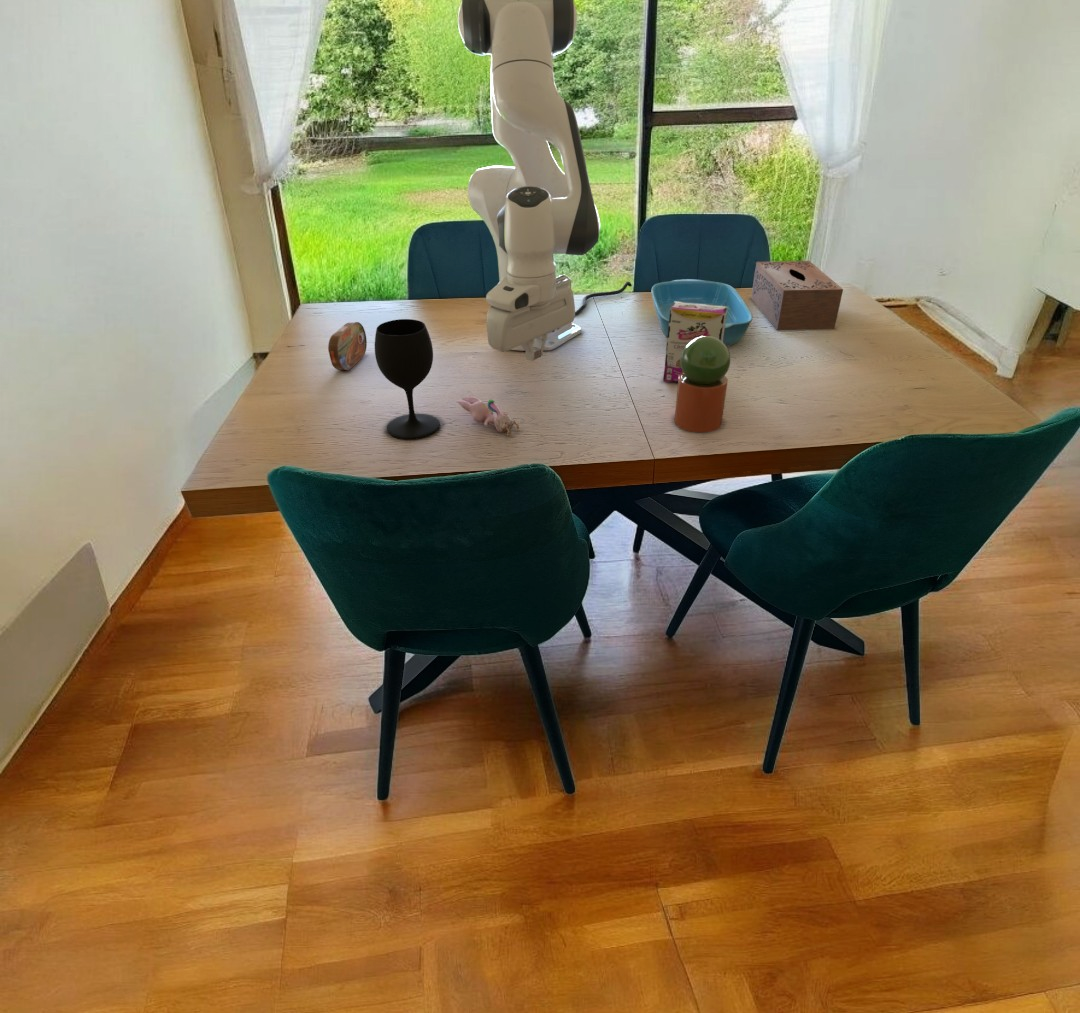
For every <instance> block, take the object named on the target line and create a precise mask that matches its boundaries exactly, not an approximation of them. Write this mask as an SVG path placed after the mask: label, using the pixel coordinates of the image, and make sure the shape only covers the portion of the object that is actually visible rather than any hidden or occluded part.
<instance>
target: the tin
mask: <svg viewBox="0 0 1080 1013" xmlns="http://www.w3.org/2000/svg"><path fill="white" fill-rule="evenodd" d="M367 343H368V342H367V334H366V330H365V327H364V326H363V324H362V323H360V322H359V321H355V322H354V321H353V322H346V323H345V324H344V325H342V326H341V327H340V328H339V329H337V330H336V331H335V332H334V333H333V334H332V335H331V336H330V338H329V340H328V345H327V350H328V354H329V359H330V362H331V365H332V367H333V368H334V369H335V370H338V371H350V370H351V369H352V368H353V367H355V365H356V364H358V362H360V361H361V360H362V358H363V357H364V356H365V355H366V352H367Z"/></svg>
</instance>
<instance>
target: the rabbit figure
mask: <svg viewBox="0 0 1080 1013" xmlns="http://www.w3.org/2000/svg"><path fill="white" fill-rule="evenodd" d="M455 402H456V403H457V404H458V405H460V406H461V407H462V408H463V409H464V410H465V411H466V412H468V413H469V414H470V416H471V417H472V419H473V421H475V422H477V423H481V424H484V427H487V426H488V424H491V425H493V426H495V429H496V430H497V432H498V433H501V434H503V433H505V432H506V431H507V433H506V436H508V437H509V436H510V434H512V432H511V429H512V428H513V426H514V425H515V426H516V427H515V431H516V432H518V430H520V426H519V423H518V422H516V421H515V420H512V419H511V418H510V417H509V413H507V412H501V411H500V409H499V408H498V407H497V405H496V404H495V403H496V402H495V399H489V400H488V401H487V402H486V401H483V400H480V399H479V398H477V397H475V396H472V395H467V396H463V397H461V398H460V399H457V400H455ZM494 413H495V414H494Z"/></svg>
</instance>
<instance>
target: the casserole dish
mask: <svg viewBox="0 0 1080 1013" xmlns="http://www.w3.org/2000/svg"><path fill="white" fill-rule="evenodd" d="M651 296H652V301H653V306H654V311H655V313H656V316H657V319H658V322H659V325H660V328H661V331H662V333H663V334H664V336H665V337H666V339H667V338H668V327H669V317H670V308H671V306H673V303H674V301H677V302H687V303H696V304H706V305H716V306H726V307H727V315H726V322H725V329H724V336H723V343H724V344H725V345H726V346H727V347H729V346H733V345H735V344H737V343H739V342H740V341H741V340H742V339H743V338H744V336H745V334H746V332H747V330H748V329H749V327H750V324H751V323H752V321H753V318H754V317H753V313H752V312H751V310H750V308H749V306H748V304H746V302H745V300H744V299H743V298H742V296H741V295H740V294H739V292H738V291H737V290H736V288H734V287H733V286H731V285H729V284H727V283H724V282H718V281H710V280H703V279H693V278H691V279H689V278H687V279H686V278H685V279H684V278H683V279H673V280H671V281H662V282H658V283H655V284H654V285H653V286H652V287H651Z"/></svg>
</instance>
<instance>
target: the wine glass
mask: <svg viewBox="0 0 1080 1013" xmlns="http://www.w3.org/2000/svg"><path fill="white" fill-rule="evenodd" d="M374 356H375V361H376V364H377V367H378V369H379V371H380V373H381V374H382V375H383V376H384V378H385V379H386V380H387V381H389V382H390V383H392V384H393V385H394V386H397V387H398V388H400V389H403V390H404V392H405V395H406V396H405V397H406V401H407V406H408V414H403V415H400V416H397V417H394V419H391V420H390V421H389V422H388V423H387V425H386V432H387V434H388V435H390V437H392V438H395V439H399V440H406V441H408V440H409V441H413V440H420V439H424V438H428V437H431V436H432V435H434V434H435V433H437V432H438V431H439V430H440V428H441V422H440V420H439V419H438V418H437V417H436V416H433V415H431V414H428V413H415V412H416V411H415V406H414V389H415V388H416V387H418V386H419V385H420V384H421V383H422V382H423V381H424V380H425V379H426V378H427V376H428V375H429V373H430V371H431V369H432V365H433V361H434V348H433V343H432V339H431V335H430V333H429V331H428V328H427V326H426V324H425V322H423V321H421V320H418V319H413V318H411V319H410V318H400V319H393V320H392V319H391V320H389V321H384V322H382V323H379V325H377V327H376V329H375V336H374Z"/></svg>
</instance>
